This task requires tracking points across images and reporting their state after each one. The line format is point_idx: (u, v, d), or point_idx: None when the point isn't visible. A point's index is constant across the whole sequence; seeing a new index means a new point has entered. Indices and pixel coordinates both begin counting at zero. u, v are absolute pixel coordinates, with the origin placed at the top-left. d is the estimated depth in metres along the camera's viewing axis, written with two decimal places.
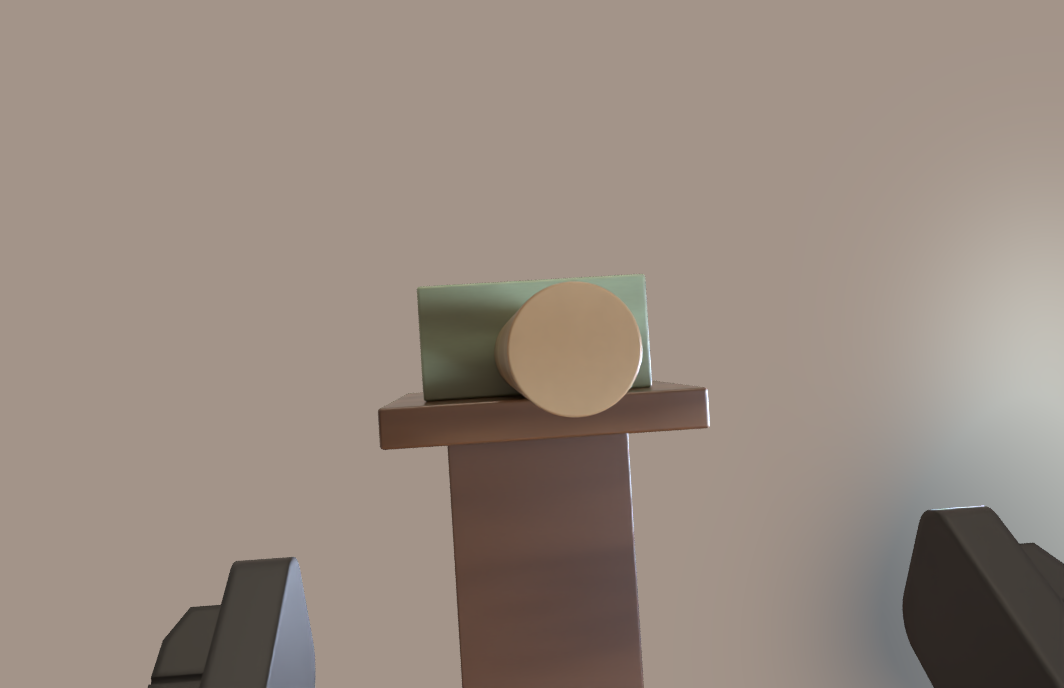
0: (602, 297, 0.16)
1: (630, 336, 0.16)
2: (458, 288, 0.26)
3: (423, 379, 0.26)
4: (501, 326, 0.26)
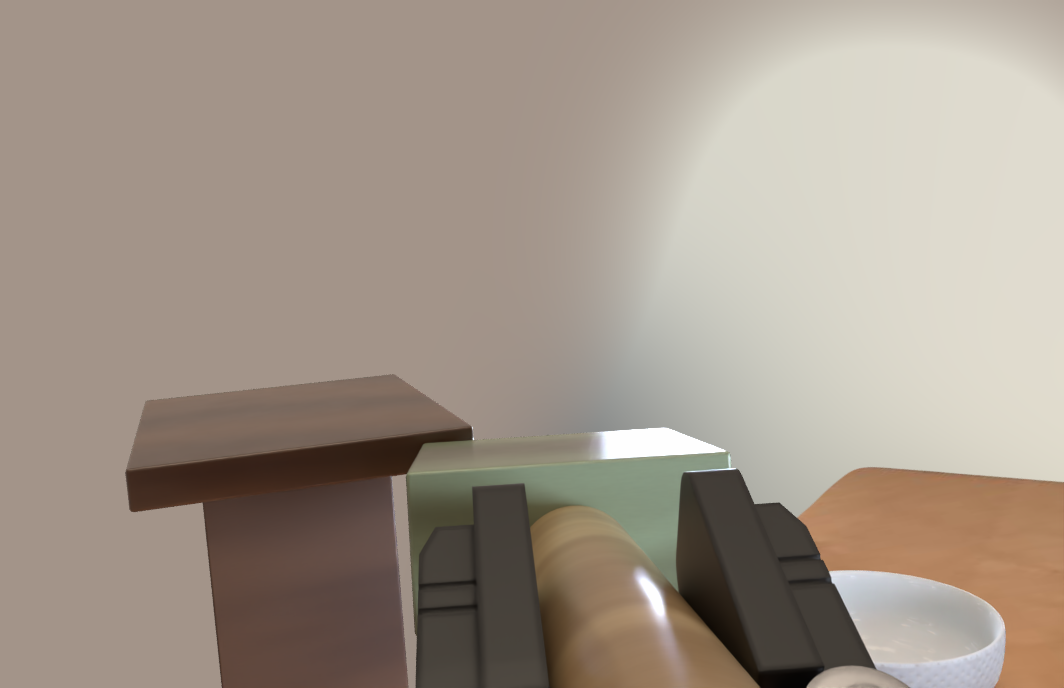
0: None
1: None
2: (465, 474, 0.18)
3: (414, 605, 0.18)
4: None
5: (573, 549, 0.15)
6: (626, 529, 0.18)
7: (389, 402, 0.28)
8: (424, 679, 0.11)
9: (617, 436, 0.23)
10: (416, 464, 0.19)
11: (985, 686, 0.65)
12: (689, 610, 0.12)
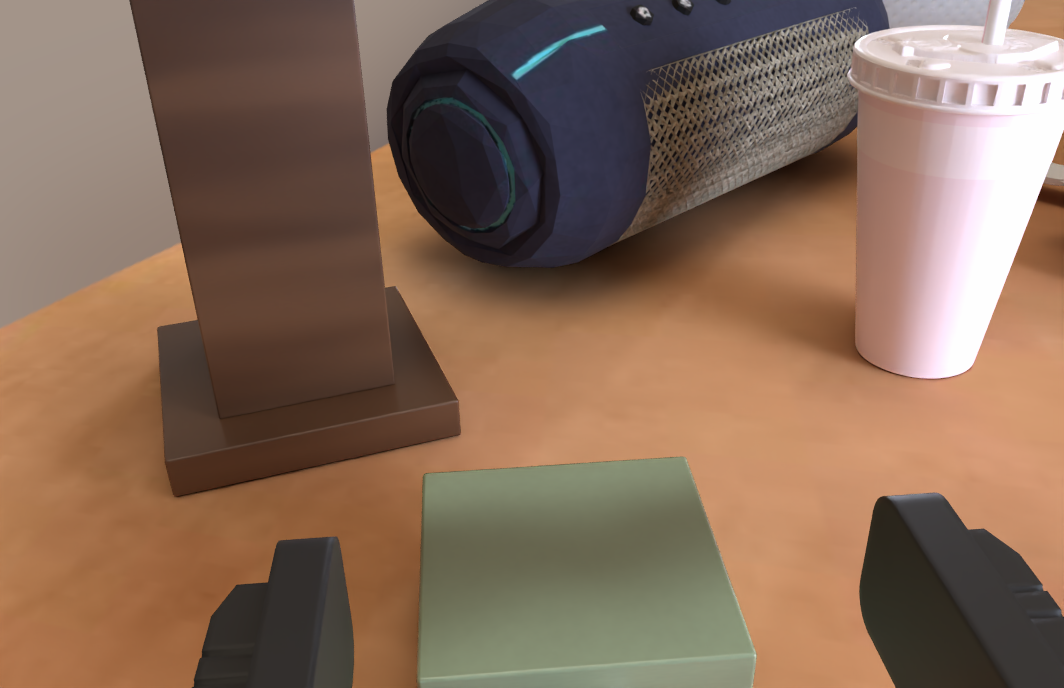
0: None
1: None
2: (479, 681, 0.17)
3: None
4: None
5: None
6: None
7: None
8: None
9: (633, 500, 0.21)
10: (424, 627, 0.18)
11: None
12: None
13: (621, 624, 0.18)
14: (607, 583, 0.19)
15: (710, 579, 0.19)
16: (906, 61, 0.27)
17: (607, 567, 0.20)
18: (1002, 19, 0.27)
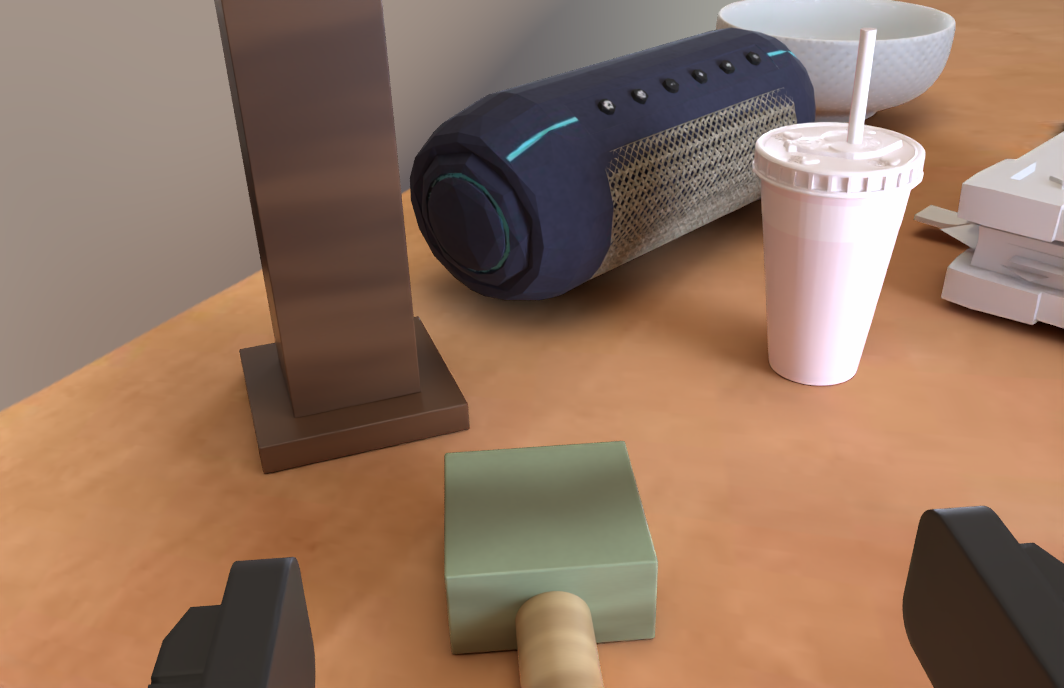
0: None
1: None
2: (483, 578, 0.28)
3: (451, 640, 0.29)
4: (522, 602, 0.28)
5: None
6: (586, 601, 0.28)
7: None
8: None
9: (586, 469, 0.32)
10: (448, 547, 0.29)
11: (926, 73, 0.68)
12: None
13: (573, 544, 0.29)
14: (566, 521, 0.30)
15: (633, 518, 0.30)
16: (789, 157, 0.37)
17: (566, 511, 0.30)
18: (859, 125, 0.38)
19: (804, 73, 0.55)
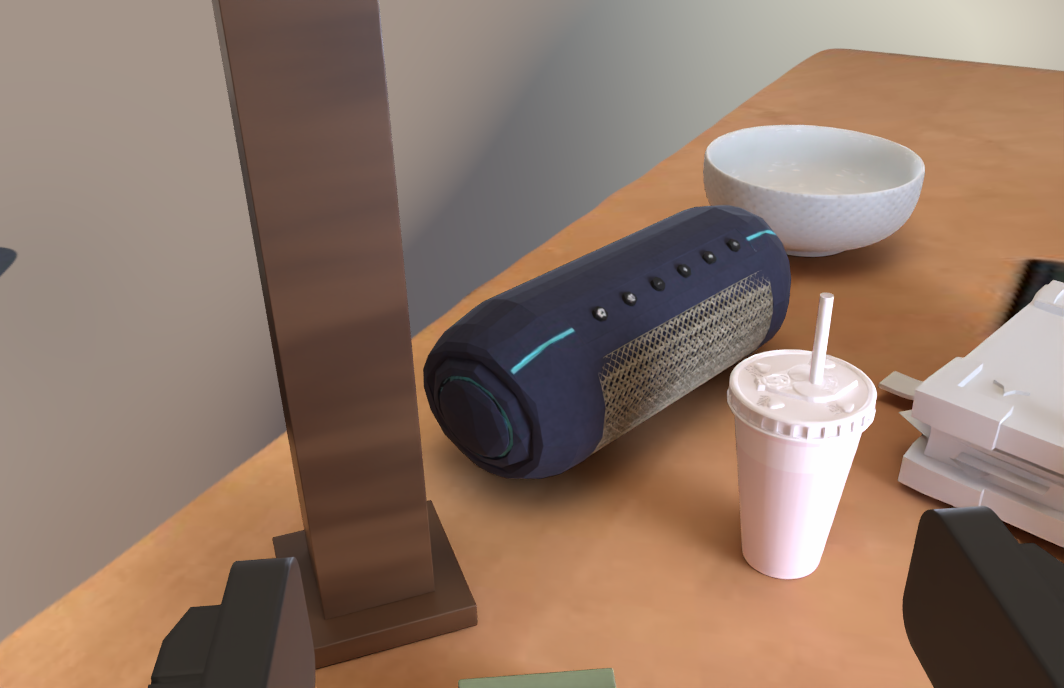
0: None
1: None
2: None
3: None
4: None
5: None
6: None
7: None
8: None
9: None
10: None
11: (897, 219, 0.73)
12: None
13: None
14: None
15: None
16: (758, 398, 0.43)
17: None
18: (819, 370, 0.43)
19: (780, 252, 0.60)
